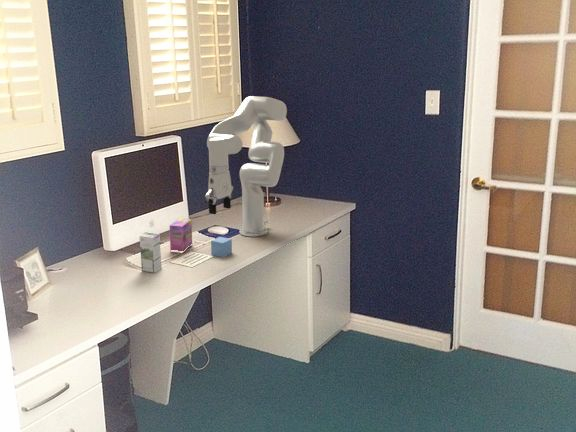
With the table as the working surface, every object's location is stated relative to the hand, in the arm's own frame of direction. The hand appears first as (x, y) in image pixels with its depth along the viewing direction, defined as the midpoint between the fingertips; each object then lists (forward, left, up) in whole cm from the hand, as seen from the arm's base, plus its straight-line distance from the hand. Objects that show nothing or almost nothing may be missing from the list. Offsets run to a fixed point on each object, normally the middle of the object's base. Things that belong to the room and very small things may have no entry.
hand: (220, 210), depth 270 cm
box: (+4, -18, -18) cm, 26 cm away
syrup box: (+29, -12, -18) cm, 36 cm away
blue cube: (0, 0, -18) cm, 18 cm away
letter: (+12, -6, -18) cm, 22 cm away
